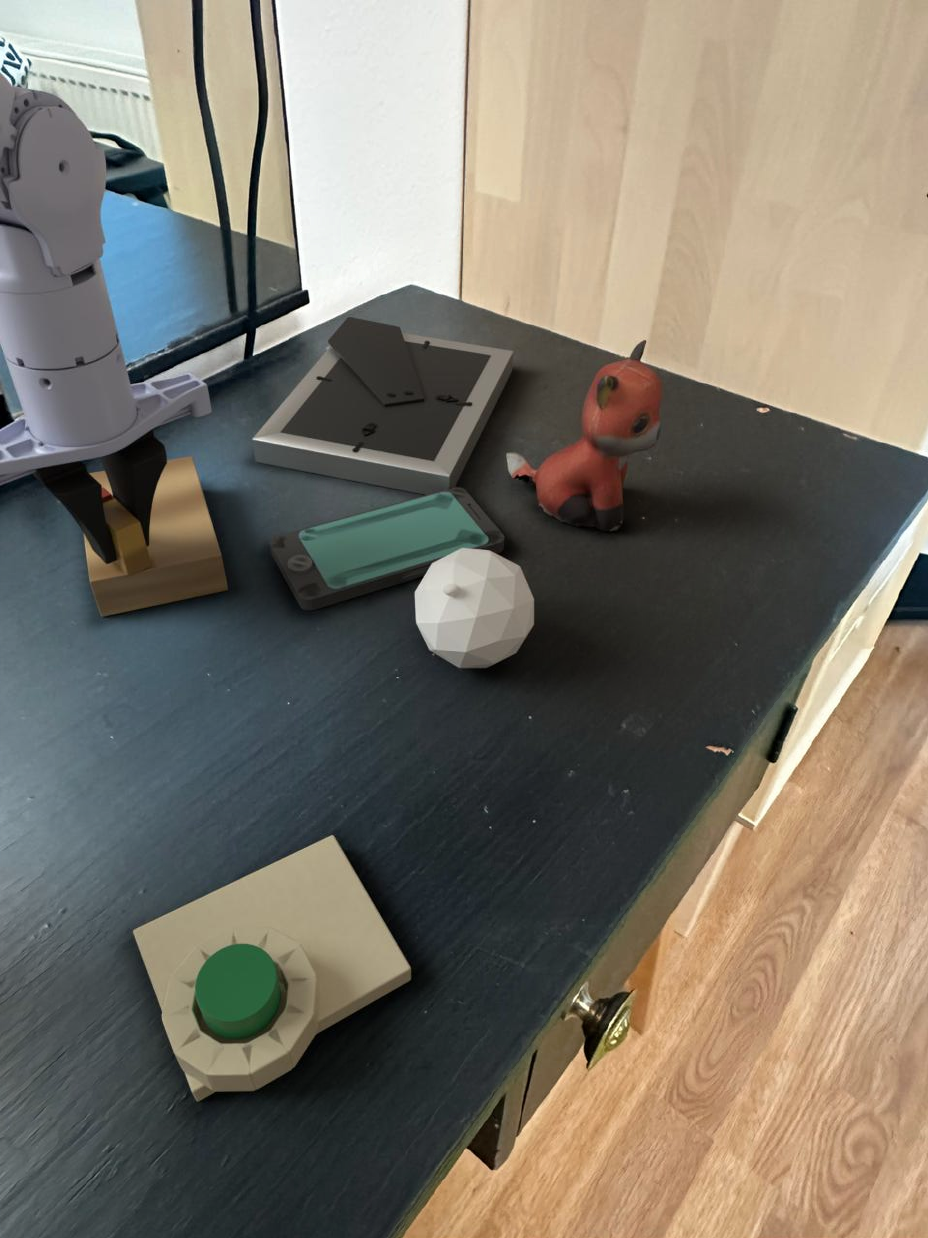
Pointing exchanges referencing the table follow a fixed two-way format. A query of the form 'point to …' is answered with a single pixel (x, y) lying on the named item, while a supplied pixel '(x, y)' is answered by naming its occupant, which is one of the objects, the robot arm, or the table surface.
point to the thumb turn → (125, 536)
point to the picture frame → (387, 409)
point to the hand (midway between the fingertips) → (121, 547)
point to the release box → (302, 953)
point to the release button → (238, 991)
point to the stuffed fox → (599, 447)
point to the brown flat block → (165, 548)
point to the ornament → (474, 608)
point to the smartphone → (380, 546)
